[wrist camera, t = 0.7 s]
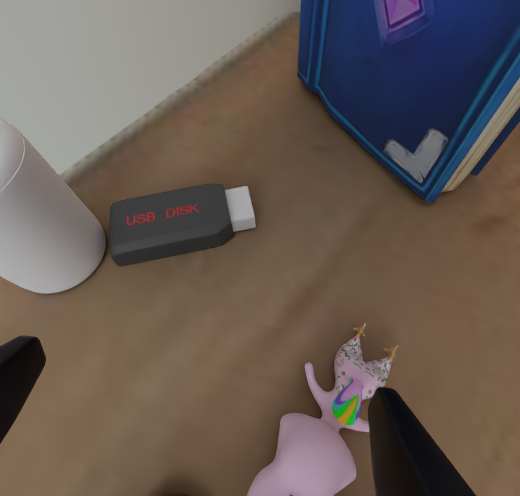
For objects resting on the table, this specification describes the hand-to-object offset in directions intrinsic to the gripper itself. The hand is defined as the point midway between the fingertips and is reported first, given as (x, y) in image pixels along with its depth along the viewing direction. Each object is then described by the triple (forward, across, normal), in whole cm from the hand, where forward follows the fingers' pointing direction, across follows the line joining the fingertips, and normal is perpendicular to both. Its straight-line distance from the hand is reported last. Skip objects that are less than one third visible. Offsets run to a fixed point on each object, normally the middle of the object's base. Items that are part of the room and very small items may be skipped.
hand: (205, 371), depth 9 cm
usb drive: (+20, +6, +7) cm, 22 cm away
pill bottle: (+17, +16, +9) cm, 25 cm away
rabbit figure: (+7, -6, +14) cm, 17 cm away
